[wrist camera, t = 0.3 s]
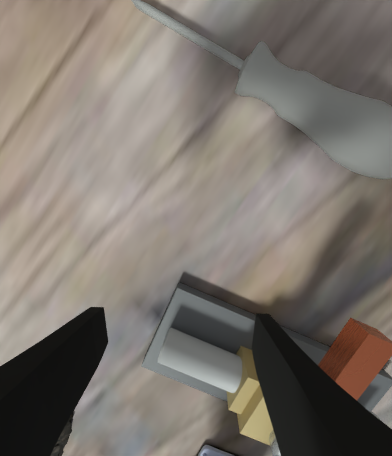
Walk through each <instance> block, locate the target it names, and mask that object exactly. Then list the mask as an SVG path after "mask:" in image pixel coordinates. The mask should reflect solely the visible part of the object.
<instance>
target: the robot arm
mask: <svg viewBox="0 0 392 456" xmlns="http://www.w3.org/2000/svg"><path fill="white" fill-rule="evenodd" d="M107 344H108V337H107V329H106V321H105V314H104V307H90V308H89V309H87V310H86V311H84V312H82V313H81V314H80V315H78V316H77V317H75V318H74V319H72V320H71V321H69V322H68V323H66V324H65V325H63V326H62V327H61V328H59V329H58V330H56V331H55V332H53V333H52V334H50V335H49V336H47V337H46V338H44V339H43V340H41V341H40V342H38V343H37V344H35V345H33V346H32V347H30V348H29V349H27V350H26V351H24V352H23V353H21V354H19V355H18V356H16V357H15V358H13V359H12V360H10V361H8V362H7V363H5V364H3V365H2V366H0V456H50V455H51V453H52V451H53V449H54V447H55V445H56V443H57V441H58V439H59V437H60V435H61V433H62V431H63V429H64V427H65V425H66V424H67V422H68V420H69V418H70V416H71V415H72V413H73V411H74V409H75V407H76V406H77V404H78V402H79V400H80V398H81V397H82V395H83V393H84V391H85V389H86V387H87V386H88V384H89V382H90V380H91V378H92V376H93V375H94V373H95V371H96V369H97V367H98V365H99V363H100V361H101V358H102V356H103V354H104V351H105V349H106V346H107ZM252 354H253V359H254V364H255V369H256V374H257V377H258V381H259V384H260V387H261V391H262V394H263V397H264V400H265V404H266V407H267V410H268V414H269V417H270V420H271V423H272V427H273V430H274V433H275V436H276V440H277V443H278V447H279V451H280V454H281V456H392V429H391V428H389V427H388V426H387V425H386V424H384V423H383V422H382V421H381V420H379V419H378V418H377V417H376V416H374V415H373V414H372V413H371V412H369V411H368V410H367V409H366V408H365V407H364V406H362V405H361V404H360V403H359V402H358V401H357V400H355V399H354V398H353V397H352V396H351V395H350V394H348V393H347V392H346V391H345V390H344V389H343V388H342V387H340V386H339V385H338V384H337V383H336V382H335V381H334V380H333V379H332V378H331V377H330V376H328V375H327V374H326V373H325V372H324V371H323V370H322V369H321V368H320V367H319V366H318V365H317V364H316V363H315V362H314V361H313V360H312V359H311V358H310V357H309V356H308V355H307V354H306V353H305V352H304V351H303V350H302V349H301V348H300V347H299V346H298V345H297V344H296V343H295V342H294V341H293V340H292V339H291V337H290V336H289V335H288V334H287V333H286V332H285V331H284V330H283V329H282V328H281V327H280V326H279V324H278V323H277V322H276V321H275V320H274V319H273V318H272V317H271V316H270V315H269V314H256V317H255V325H254V333H253V341H252ZM198 456H234V455H232V454H229V453H227V452H224V451H222V450H219V449H217V448H214V447H212V446H209V445H204V446H203V448H202V449H201V451H200V452H199V454H198Z"/></svg>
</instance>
